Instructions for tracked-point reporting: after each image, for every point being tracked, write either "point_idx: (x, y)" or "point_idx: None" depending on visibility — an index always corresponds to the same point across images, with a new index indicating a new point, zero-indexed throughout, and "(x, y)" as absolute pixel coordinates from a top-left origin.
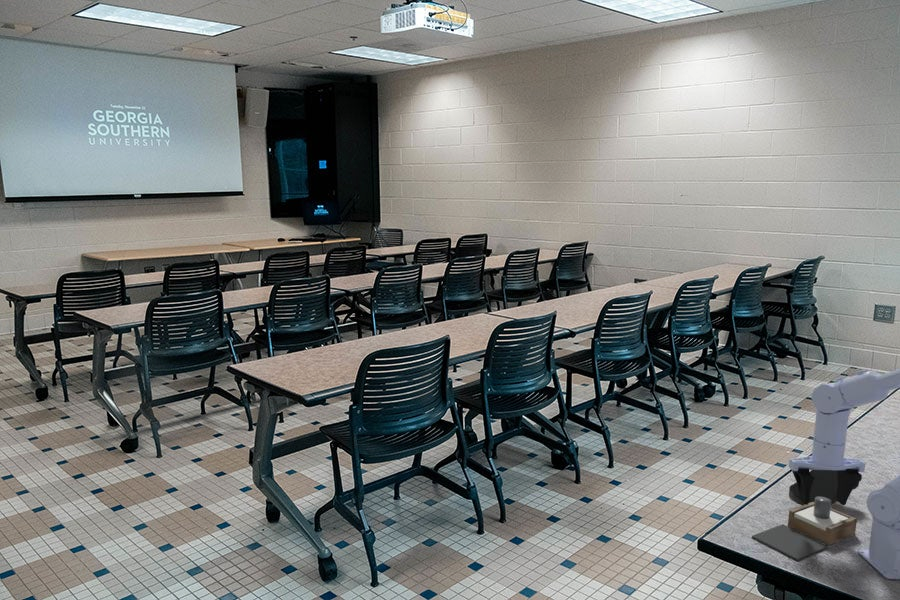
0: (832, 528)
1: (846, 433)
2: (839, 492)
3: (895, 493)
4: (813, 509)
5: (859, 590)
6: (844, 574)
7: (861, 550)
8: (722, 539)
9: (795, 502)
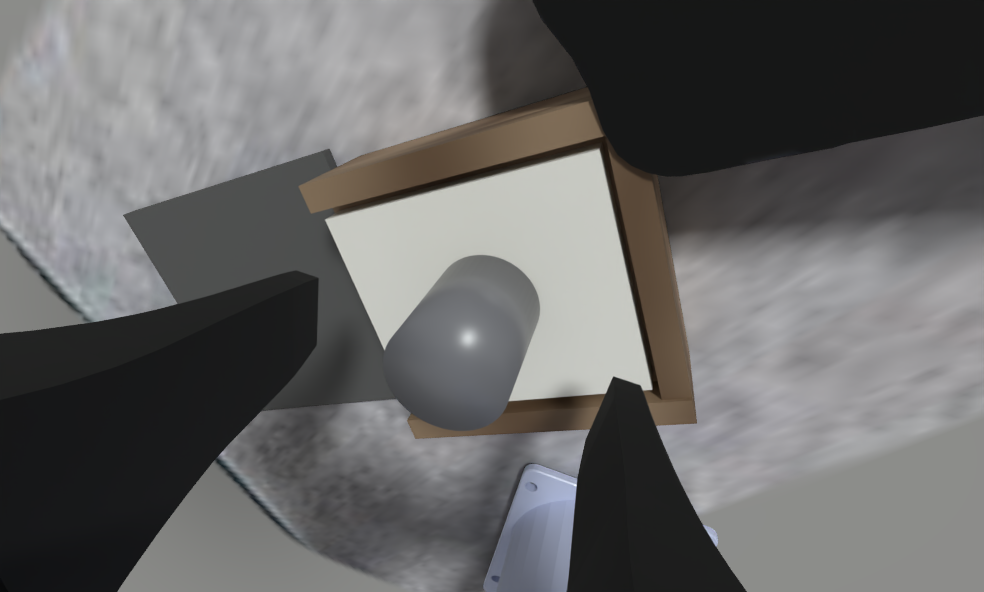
0: (430, 436)
1: None
2: (604, 460)
3: None
4: (499, 212)
5: (357, 564)
6: (367, 510)
7: (540, 477)
8: (10, 186)
9: None
